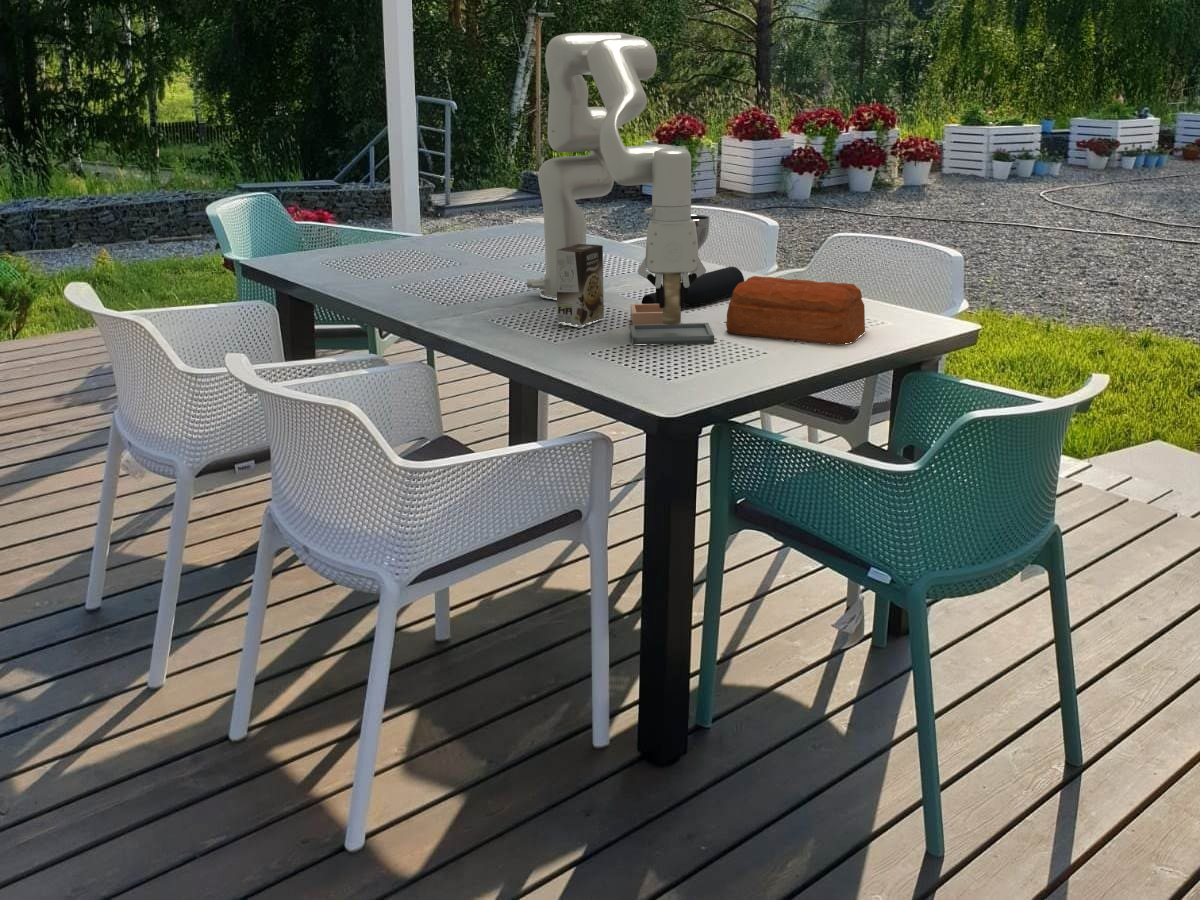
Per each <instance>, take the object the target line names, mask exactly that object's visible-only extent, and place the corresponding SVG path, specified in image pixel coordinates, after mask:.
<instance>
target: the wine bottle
mask: <svg viewBox="0 0 1200 900" xmlns="http://www.w3.org/2000/svg"><path fill="white" fill-rule="evenodd" d="M744 278H745V277H744V275H743V272H742V271H741V270H740V269H739V268H738V267H735V266H728V267H724V268H720V269H715V270H713V271H707V272H705V273H704V274H702V275H701V276H699V277H697V278H696V279H695V280H694V281H693V282H692V283H691V284H690V285H689V287H688V303H685V306H700V305H702V304H705V303H710V302H714V301H716V300H720V299H723V298H727V297H730V296H731V297H732V295H733V291H734V289H735V288H736V286H737V285H738V284H739V283H741V282H743V281H745V279H744ZM681 283H682V281H681ZM641 304H659V303H656V291H655V292H652V293H648V294H645V295H644V296H643V297H642V298H641Z"/></svg>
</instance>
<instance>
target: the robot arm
mask: <svg viewBox="0 0 1200 900" xmlns="http://www.w3.org/2000/svg"><path fill="white" fill-rule="evenodd" d="M544 59H545V61H544V62H545V70H546V75H547V80H548V87H549V96H548V113H547V114H548V115H547V141H548V145H549V147H550V148H551V149H552V150H553V151H556V152H559V153H577V152H578V153H580V152H589V154H588V155H570V156H568V155H567V156H557V157H552V158H549V159H547V160H546V161H544V162H543V163H542V164H541V165H540V167H539V169H538V173H537V179H538V181H537V182H538V186H539V192H540V197H541V200H542V201H541V202H542V208H543V209H542V210H543V225H544V226H543V228H544V231H543V232H544V254H545V255H544V257H545V258H544V259H545V264H544V265H545V274H544V276H543V277H540V279H535V278H531V279H530V278H529V279H526V288H530V289H541V290H540V291H539V294H540V293H541V294H542V295H544V296H547V297H552V298H557V271H556V250H558V249H562V248H565V247H569V246H573V245H577V244H587V223H586V218H585V214H584V213H583V211H582V209H581V208H580V206H579V205H578V204H577V202H576V200H581V199H591V198H600V197H604V196H607V195H608V194H609V193H610V192H611V191H612V189H613V187H614V183H617V184H618V185H620V186H627V187H628V186H639V185H640V186H641V185H642V186H643V185H651V186H652V187H651V195H652V196H651V202H652V204H651V206H650V207H649V208H645V209H644V216H649V217H650V218H652V220H649V221H648V224H647V225H648V226H647V230H646V231H647V234H646V241H645V242H646V245H645V256H644V259H643V260H642V262H641V264H640V265H639V266H638V269H637V270H636V271H637V274H638V275H639V276H641V277H642V278H644V279H646V280H648V282H650V283H651V284H652V285H653V287H655V292H656V303H659V307H660V308H664V289H663V274H671V273H681V277H682V280H681V282H682V283H681V309H682V308H683V309H684V308H686V307H685V306H686V305H685V303H688V287H689V285H690V284H691V283H692V282H693V281H694V280H695V279H696V278H697V277H699V276H701V275H702V274H704V273H707V269H706V268H705V266H704V264H703V262H702V261H701V258H700V257H699V250H698V241H697V231H696V224H695V221H694V220H691V215H692V155H691V153H690V151H689V150H688V149H685V148H678V147H674V146H672V145H669V144H667V143H665V144H662V143H660V144H659V143H658V144H643V145H627V146H625V144H624V142H623V139H622V137H621V135H620V133H619V128H620V127H622V126H624V125H625V124H628V123H629V122H631V121H632V120H634V119H636V118H637V117H638V116H640V114H641V113H643V111H644V110H645V108H646V106H647V104H648V98H647V94H646V91H645V90H644V88H643V85H642V83H641V81H645V80H649V79H650V78H652V77H653V76H654V74H656V73H655V72H656V70H657V66H658V58H657V53H656V51H655V48H654V47H653V45H652V43H651V42H650V41H649V40H647V39H646V38H644V37H640V36H637V35H633V34H627V33H624V32H572V33H563V34H559V35H556V36H554V37H552V38H551V39H550V40H549V42H548V44H547V46H546V50H545V57H544ZM583 75H585V76H587V75H589V76H592V79H593V80H594V81H593V82H594V83H595V86H596V88H597V91H598V94H599V96H600V99H601V100H602V103H603V105H604V107H603V106H588V104H589V103H588V100H589V87H588V84H587V81H586V80H585V78H584V76H583ZM691 272H692V273H691Z"/></svg>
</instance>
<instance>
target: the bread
mask: <svg viewBox="0 0 1200 900" xmlns="http://www.w3.org/2000/svg"><path fill="white" fill-rule="evenodd" d="M865 312H866V311H865V304H864V301H863V295H862V291H861V289H860V288H859V287H857V286H856V284H854V283H846V282H840V283H837V282H833V281H825V282H823V281H822V282H819V281H813V280H808V279H807V280H806V279H795V278H794V279H786V278H782V277H774V276H773V277H772V276H758V275H753V276H751V277H748V278H747V279H746V280H744V281H743V282H741V283H739V284H738V285H737V286H736V288H735V289H734V291H733V295H731V299H730V300H729V303H728V307H727V312H726V323H725V326H726V331H727V333H729V334H734V335H740V336H741V335H742V336H749V337H750V336H751V337H760V338H768V339H770V338H771V339H779V340H788V339H789V340H788V341H797V340H799V341H798V342H806V341H807V343H817V344H826V343H830V344H829V345H837V344H845V343H850V342H854V341H855V340H856V339H857V338H858V337H859V336H860V335H862V334H863V333H864V332H865V333H866V323H865V322H866V320H865V319H866V315H865V314H866V313H865ZM855 342H856V341H855ZM855 342H854V343H855Z"/></svg>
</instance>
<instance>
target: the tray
mask: <svg viewBox="0 0 1200 900" xmlns="http://www.w3.org/2000/svg"><path fill="white" fill-rule="evenodd" d="M629 326H630V328H629V329H630V331H631V333H630V336H632V338H631V341H633V343H632V345H633V344H677V345H678V344H679V345H712V344H713V345H714V344H715V334H714V332H713V330H712V328H711V325H710V324H709V322H693V323H692V322H689V323H684V322H681V323H680V324H675V325H668V324H636V325H632V324H630V325H629ZM679 345H678V346H679Z"/></svg>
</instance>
